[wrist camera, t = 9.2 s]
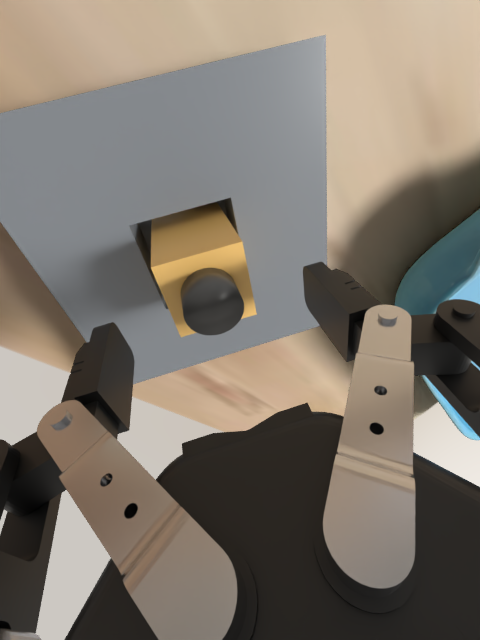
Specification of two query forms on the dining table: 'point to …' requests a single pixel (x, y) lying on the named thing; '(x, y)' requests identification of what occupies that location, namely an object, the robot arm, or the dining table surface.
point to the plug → (201, 270)
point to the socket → (174, 193)
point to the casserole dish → (445, 287)
